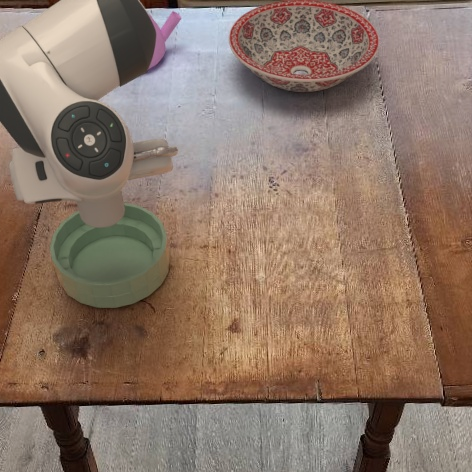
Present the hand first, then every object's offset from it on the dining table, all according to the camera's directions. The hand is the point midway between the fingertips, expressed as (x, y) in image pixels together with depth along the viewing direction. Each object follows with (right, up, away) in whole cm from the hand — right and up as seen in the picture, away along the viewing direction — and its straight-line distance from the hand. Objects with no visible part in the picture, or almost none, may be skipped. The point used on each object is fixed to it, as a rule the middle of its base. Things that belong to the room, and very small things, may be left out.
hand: (94, 176), depth 92 cm
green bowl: (0, -11, +14) cm, 18 cm away
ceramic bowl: (+32, +31, +46) cm, 64 cm away
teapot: (-1, +37, +50) cm, 62 cm away
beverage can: (0, -5, +5) cm, 7 cm away
